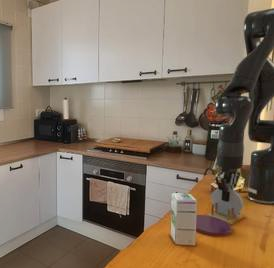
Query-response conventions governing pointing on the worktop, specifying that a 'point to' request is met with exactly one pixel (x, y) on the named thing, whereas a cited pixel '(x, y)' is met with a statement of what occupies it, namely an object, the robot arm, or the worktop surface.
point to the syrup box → (183, 218)
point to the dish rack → (227, 217)
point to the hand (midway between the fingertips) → (226, 200)
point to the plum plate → (212, 226)
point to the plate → (223, 206)
